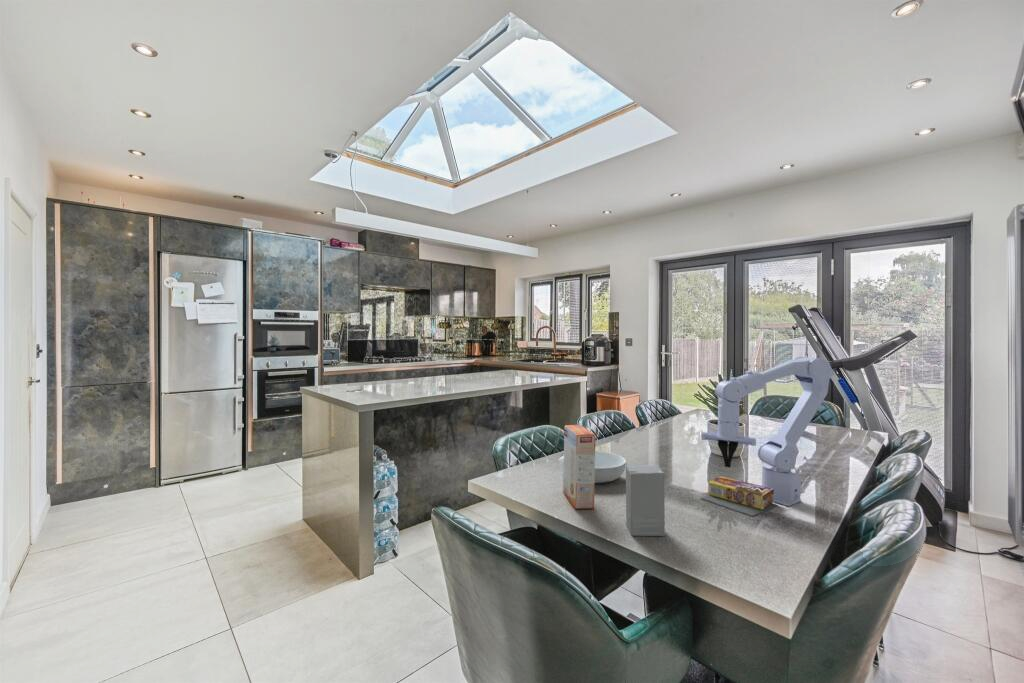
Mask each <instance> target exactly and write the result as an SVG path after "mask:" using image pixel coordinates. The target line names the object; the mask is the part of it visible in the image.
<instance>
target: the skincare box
mask: <svg viewBox="0 0 1024 683" xmlns="http://www.w3.org/2000/svg"><path fill="white" fill-rule="evenodd" d="M665 475H666V474H665V472H664V471H663V469H661V468H660V466H659V465H658V464H639V465H638V464H626V467H625V520H626V522H625V524H626V527H627V530H628V531H629V533H630V536H632V537H634V536H635V537H647V536H648V537H665V532H666V529H665V525H666V524H665V520H666V519H665V516H666V515H665V508H666V507H665Z"/></svg>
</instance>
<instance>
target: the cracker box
mask: <svg viewBox="0 0 1024 683" xmlns="http://www.w3.org/2000/svg"><path fill="white" fill-rule="evenodd" d="M563 435H564V436H563V438H564V439H563V457H564V461H563V474H562V476H563V478H562V479H563V480H562V492H563V494H564V495H565V496H566V498H567V500H568V501H569V503H570V504H571V505H572V506H573V509H575V510H585V509H588V510H589V509H590V510H591V509H595V483H594V481H595V451H596V434H595V433H594V432H592V431H591V430H589V429H588V428H586V427H585V426H584V425H580V424H566V425H564V431H563Z"/></svg>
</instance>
